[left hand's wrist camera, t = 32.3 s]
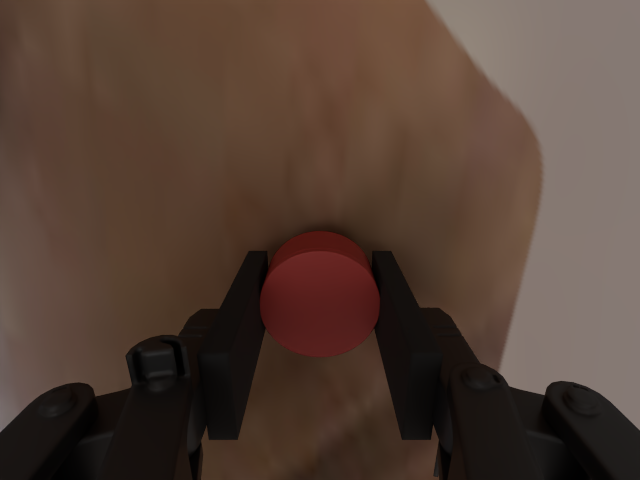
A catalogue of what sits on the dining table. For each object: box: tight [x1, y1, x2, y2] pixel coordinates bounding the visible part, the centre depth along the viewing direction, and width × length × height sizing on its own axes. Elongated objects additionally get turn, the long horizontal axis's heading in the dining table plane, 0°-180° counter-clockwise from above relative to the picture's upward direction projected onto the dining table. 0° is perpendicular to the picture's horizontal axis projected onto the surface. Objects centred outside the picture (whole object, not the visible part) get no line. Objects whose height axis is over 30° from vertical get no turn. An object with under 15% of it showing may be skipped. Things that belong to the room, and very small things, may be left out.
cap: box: [260, 231, 380, 357], centre depth 14 cm, size 4×4×2 cm
